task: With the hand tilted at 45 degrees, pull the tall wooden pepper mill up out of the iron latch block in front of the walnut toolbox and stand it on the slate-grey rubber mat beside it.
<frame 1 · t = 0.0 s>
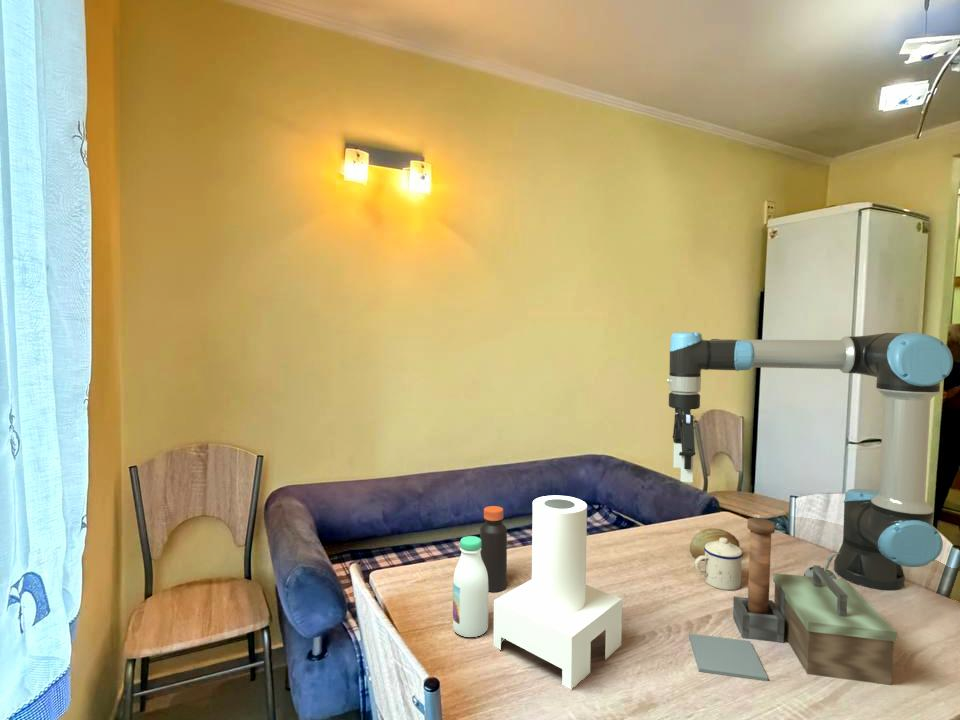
hand: (682, 474, 137), 28 cm above the table, tool pointing down, fingers open, 13 cm apart
vinegar: (493, 587, 134), on the table
teacup with lid: (716, 583, 137), on the table
milk bottle: (470, 630, 115), on the table
bread roll: (715, 557, 153), on the table
paper towel holder: (557, 647, 109), on the table
rubber mat: (725, 657, 106), on the table
wooden pepper mill: (757, 629, 115), resting in toolbox
toolbox: (826, 648, 109), on the table
mate gourd: (821, 605, 126), on the table
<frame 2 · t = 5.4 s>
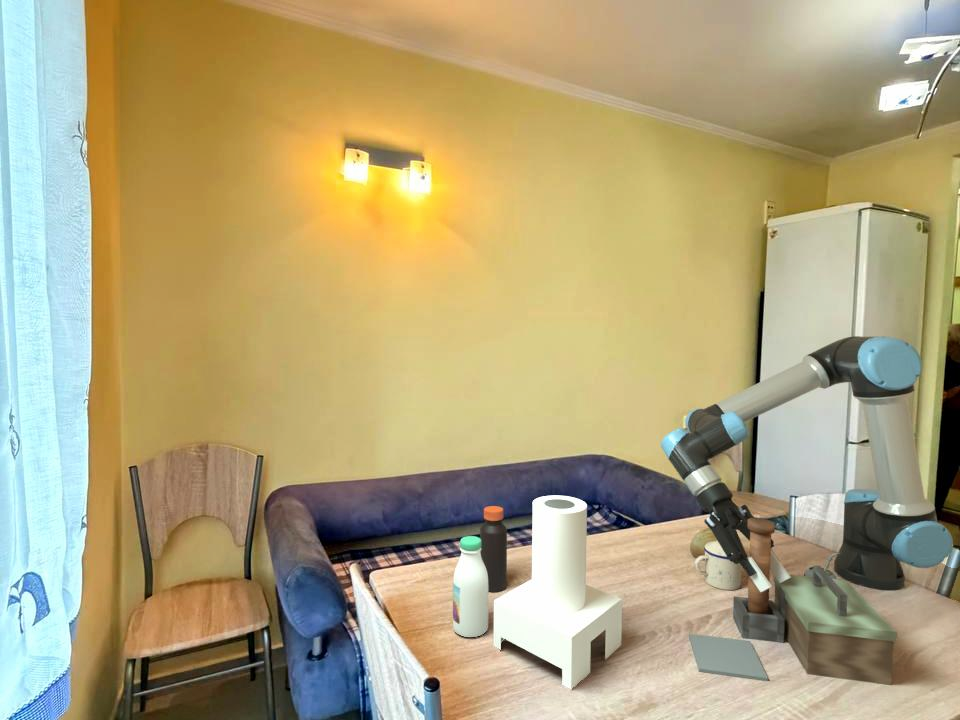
hand: (775, 584, 112), 12 cm above the table, tool tilted 45°, fingers open, 7 cm apart
nothing on the table moved.
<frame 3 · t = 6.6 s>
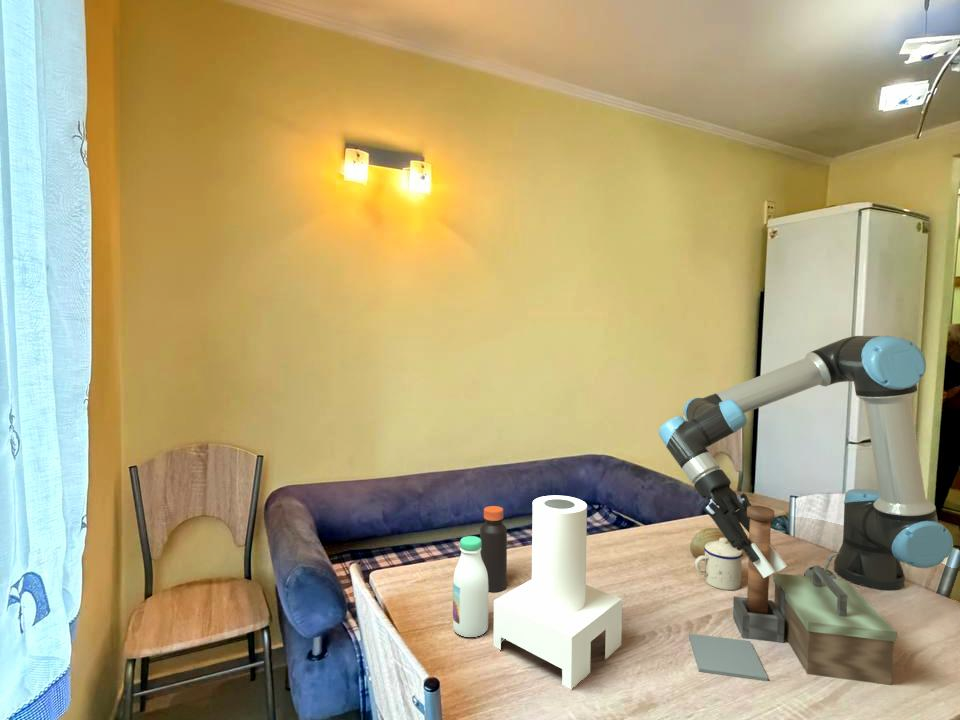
hand: (775, 572, 111), 14 cm above the table, tool tilted 45°, fingers closed on wooden pepper mill, 4 cm apart
wooden pepper mill: (756, 617, 115), point 3 cm above the table, touching gripper
everything else where it was.
when the fingers open (13 cm above the table, at t = 12.9 s): wooden pepper mill stays where it is, resting on rubber mat.
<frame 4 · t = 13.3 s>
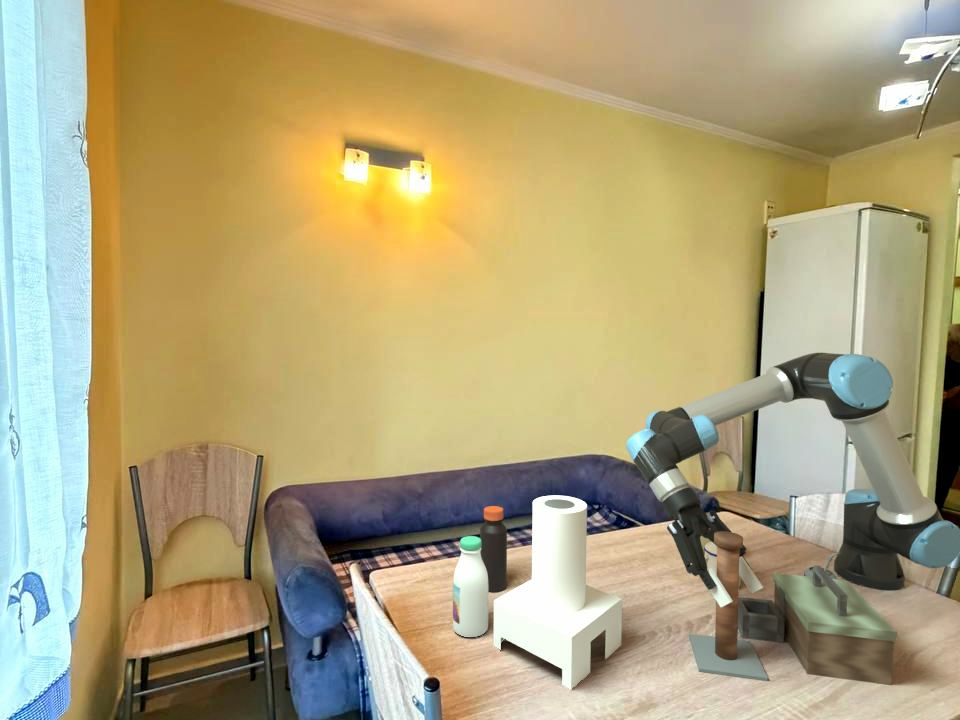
hand: (742, 597, 102), 14 cm above the table, tool tilted 45°, fingers open, 9 cm apart
wooden pepper mill: (725, 654, 106), point 1 cm above the table, touching rubber mat
everything else where it was.
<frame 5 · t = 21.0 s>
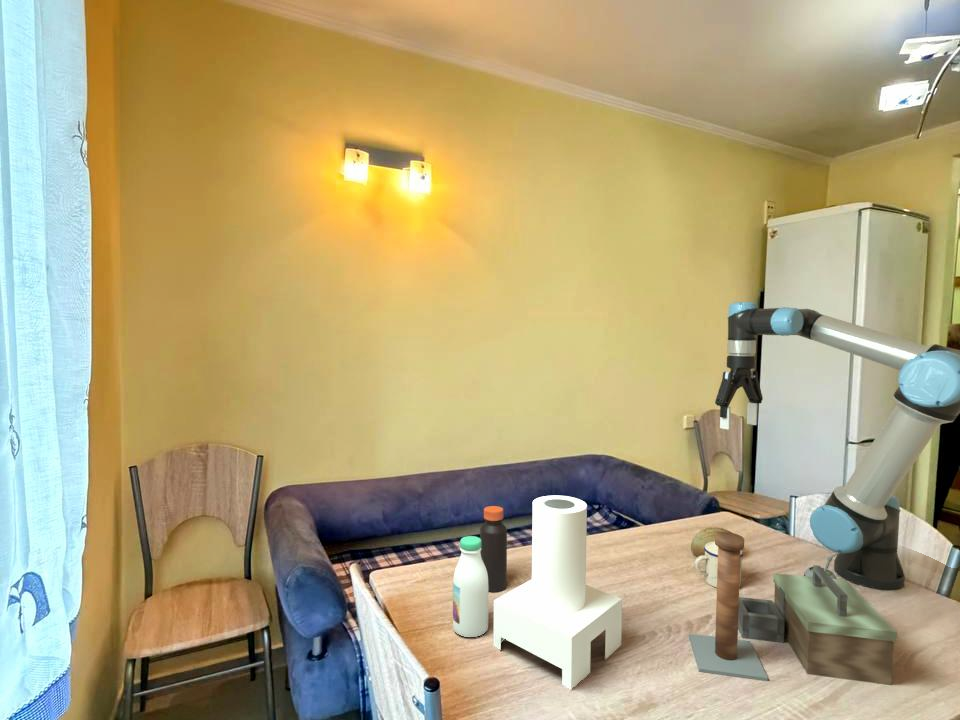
hand: (738, 426, 157), 37 cm above the table, tool pointing down, fingers open, 13 cm apart
at the end: wooden pepper mill inside the target area (0.1 cm from its centre), point 0.6 cm above the table; wooden pepper mill tilted 1°; the gripper is holding nothing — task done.
